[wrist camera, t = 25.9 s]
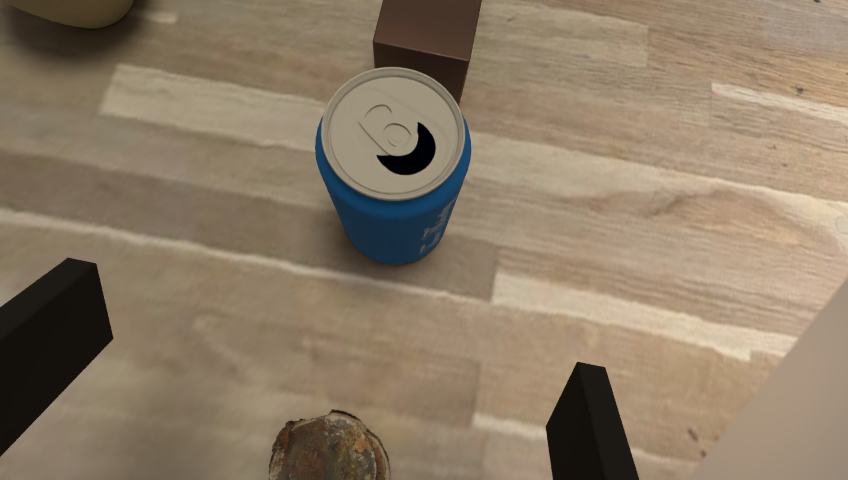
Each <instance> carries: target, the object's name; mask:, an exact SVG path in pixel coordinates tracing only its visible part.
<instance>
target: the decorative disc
mask: <svg viewBox="0 0 848 480" xmlns="http://www.w3.org/2000/svg"><path fill="white" fill-rule="evenodd" d="M272 451H273V455H272V457H271V461H270V464H269V474H270V478H269V480H390V477H389V476H390V465H389V459H388V456H387V453H386V451H385V450H384V448H383V445H382V443H381V441H380V439H379V438H378V437H377V436H375V435H374V433H372V432H370V430H368V429H367V428H366V426H365V425H364V424H363V423H362V422H361V421H360V420H359V419H357V418H356V417H355V416H352V415H351V414H349V413H346V412H344V411H339V410H332V411H331V412H330V413H329V414H328V415H327V416H321V417H318V418H315V419H313V418H312V419H311V420H308V421H305V420H303V419H300V420H299V421H297V422H294V421H288V422H287V423H286V427H285V428H283V429H282V430H281V431H280V432H279V435H278V436H277V438H276V441H275V443H274V444H273V449H272Z"/></svg>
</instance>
